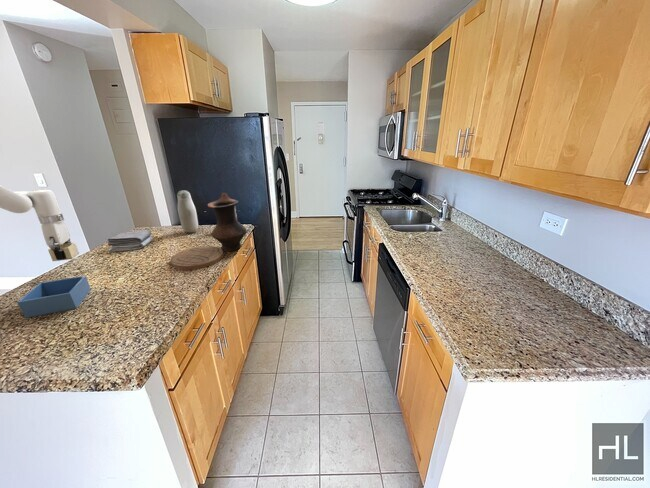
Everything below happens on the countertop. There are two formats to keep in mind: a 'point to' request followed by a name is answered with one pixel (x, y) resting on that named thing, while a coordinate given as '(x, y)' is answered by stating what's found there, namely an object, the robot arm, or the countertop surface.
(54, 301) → the blue bin
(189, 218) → the white rounded column
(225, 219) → the jug
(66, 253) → the cream bin
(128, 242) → the towel
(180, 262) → the trivet
